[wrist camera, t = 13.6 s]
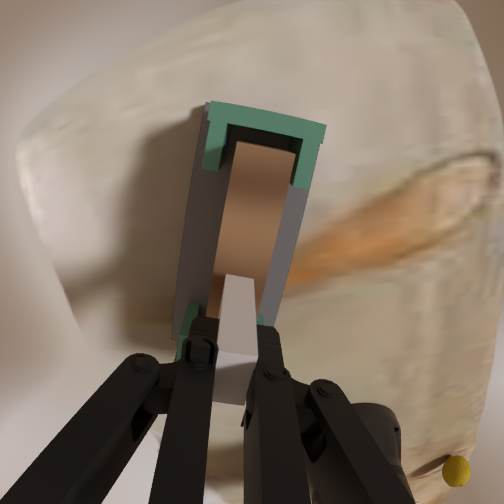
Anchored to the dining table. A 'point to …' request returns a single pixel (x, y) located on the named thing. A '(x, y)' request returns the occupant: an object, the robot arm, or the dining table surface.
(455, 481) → the lemon
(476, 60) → the dining table surface
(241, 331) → the robot arm
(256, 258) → the slat
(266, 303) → the cradle
